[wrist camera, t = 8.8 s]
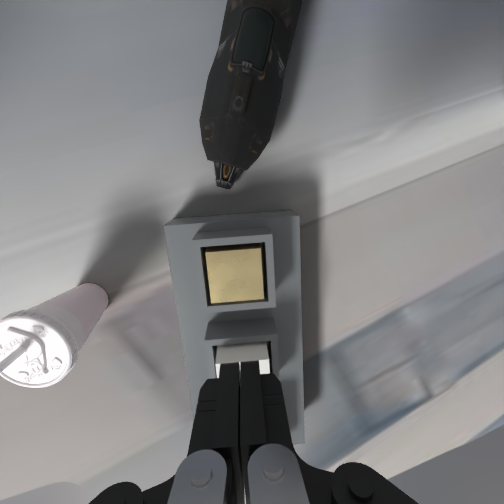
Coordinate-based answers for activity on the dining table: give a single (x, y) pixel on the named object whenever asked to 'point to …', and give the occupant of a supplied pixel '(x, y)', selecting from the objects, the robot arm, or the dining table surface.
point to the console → (241, 312)
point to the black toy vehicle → (246, 83)
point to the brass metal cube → (235, 272)
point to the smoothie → (49, 336)
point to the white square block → (243, 355)
